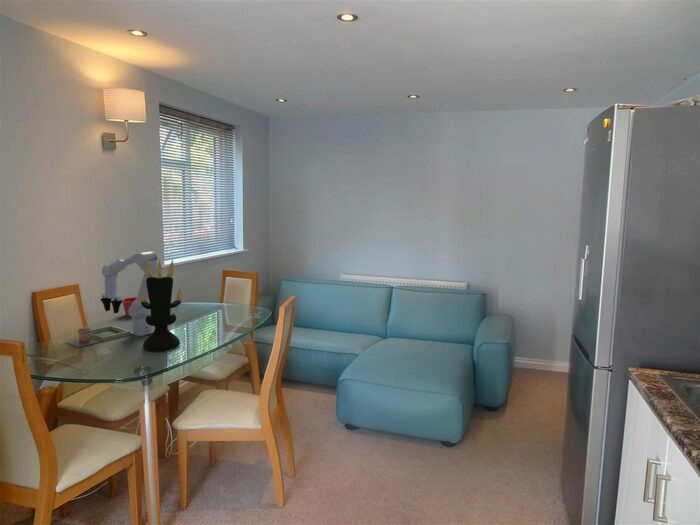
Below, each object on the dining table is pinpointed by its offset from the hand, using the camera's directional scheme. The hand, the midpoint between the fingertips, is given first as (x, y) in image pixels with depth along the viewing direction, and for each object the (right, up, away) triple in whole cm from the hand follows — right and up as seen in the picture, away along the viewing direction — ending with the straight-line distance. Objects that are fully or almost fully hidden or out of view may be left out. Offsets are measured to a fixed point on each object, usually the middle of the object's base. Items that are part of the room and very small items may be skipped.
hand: (111, 311), depth 261 cm
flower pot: (-2, -5, +30) cm, 31 cm away
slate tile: (-2, -13, -23) cm, 26 cm away
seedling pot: (-2, -12, -23) cm, 26 cm away
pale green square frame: (+2, -11, -10) cm, 15 cm away
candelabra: (+38, -15, -27) cm, 49 cm away
